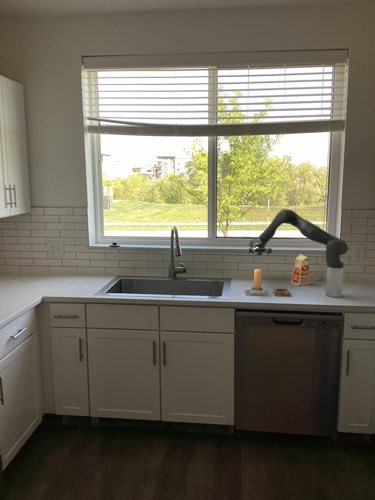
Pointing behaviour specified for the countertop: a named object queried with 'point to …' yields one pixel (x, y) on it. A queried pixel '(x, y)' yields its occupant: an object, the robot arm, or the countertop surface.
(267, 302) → the countertop surface
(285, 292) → the holder
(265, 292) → the hub
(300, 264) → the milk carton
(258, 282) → the peg
